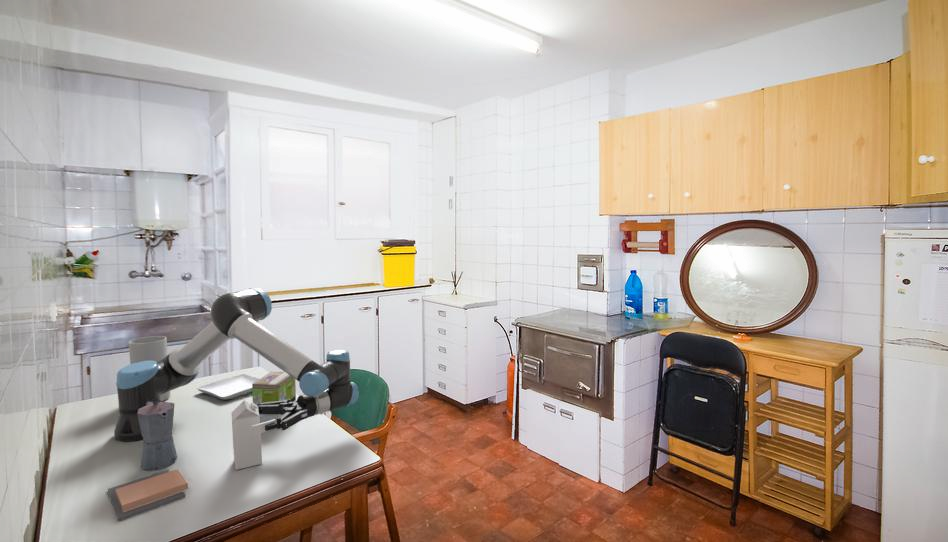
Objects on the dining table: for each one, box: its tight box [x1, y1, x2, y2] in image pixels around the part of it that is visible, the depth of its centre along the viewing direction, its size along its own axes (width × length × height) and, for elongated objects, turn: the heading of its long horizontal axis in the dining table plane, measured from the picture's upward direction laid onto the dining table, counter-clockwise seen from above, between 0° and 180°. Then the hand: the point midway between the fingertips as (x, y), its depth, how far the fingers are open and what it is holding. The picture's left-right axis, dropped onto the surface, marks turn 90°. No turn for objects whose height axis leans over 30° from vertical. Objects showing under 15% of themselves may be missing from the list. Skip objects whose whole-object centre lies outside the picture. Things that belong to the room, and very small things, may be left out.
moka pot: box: [137, 399, 178, 471], centre depth 138 cm, size 10×15×20 cm, turn 58°
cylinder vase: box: [128, 335, 171, 402], centre depth 188 cm, size 12×12×25 cm
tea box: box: [251, 371, 297, 423], centre depth 173 cm, size 15×10×15 cm, turn 179°
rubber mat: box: [106, 469, 186, 522], centre depth 123 cm, size 18×14×1 cm
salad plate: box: [196, 373, 260, 401], centre depth 199 cm, size 21×21×3 cm
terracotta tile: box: [115, 468, 189, 512], centre depth 122 cm, size 10×2×14 cm
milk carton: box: [231, 397, 263, 471], centre depth 138 cm, size 7×7×19 cm
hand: (243, 423), depth 137 cm, fingers open, 13 cm apart
